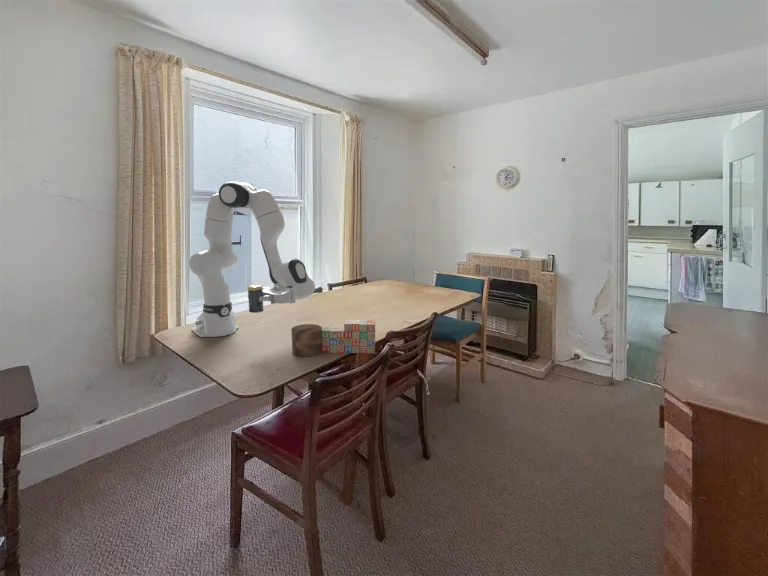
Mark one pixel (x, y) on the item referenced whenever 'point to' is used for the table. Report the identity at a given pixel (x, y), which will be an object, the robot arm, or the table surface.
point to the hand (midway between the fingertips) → (253, 297)
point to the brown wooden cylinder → (306, 340)
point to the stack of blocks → (350, 337)
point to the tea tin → (255, 298)
